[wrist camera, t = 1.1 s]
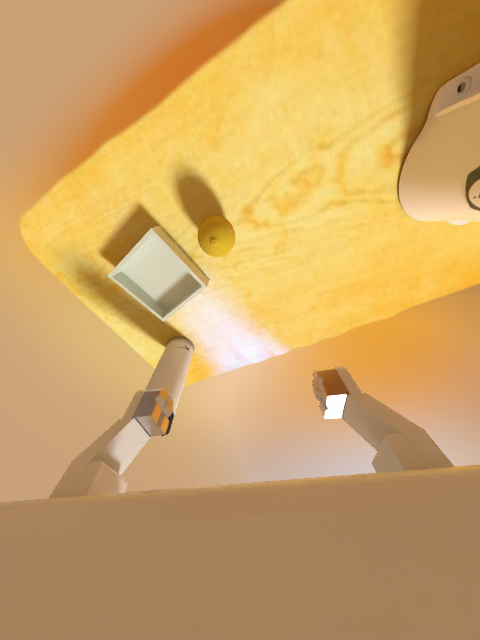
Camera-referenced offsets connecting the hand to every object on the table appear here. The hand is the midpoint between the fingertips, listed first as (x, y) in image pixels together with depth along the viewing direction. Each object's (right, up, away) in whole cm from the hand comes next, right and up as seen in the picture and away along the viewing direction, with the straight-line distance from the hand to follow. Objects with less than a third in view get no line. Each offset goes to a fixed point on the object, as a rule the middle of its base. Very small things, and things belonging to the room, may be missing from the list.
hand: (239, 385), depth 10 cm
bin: (-14, +12, +25) cm, 31 cm away
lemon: (-3, +18, +21) cm, 28 cm away
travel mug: (-14, -3, +35) cm, 38 cm away
